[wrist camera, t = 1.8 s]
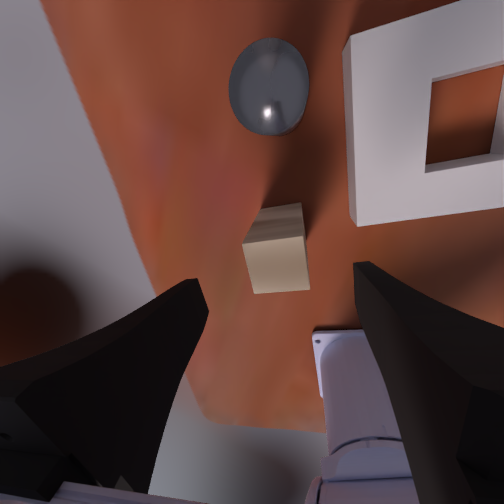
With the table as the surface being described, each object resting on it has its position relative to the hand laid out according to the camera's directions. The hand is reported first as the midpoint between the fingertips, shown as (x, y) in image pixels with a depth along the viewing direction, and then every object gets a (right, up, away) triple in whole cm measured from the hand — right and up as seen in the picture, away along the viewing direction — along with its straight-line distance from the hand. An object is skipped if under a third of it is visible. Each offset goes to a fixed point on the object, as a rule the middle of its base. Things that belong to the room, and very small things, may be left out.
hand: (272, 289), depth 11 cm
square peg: (+2, +4, +8) cm, 9 cm away
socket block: (+11, +10, +3) cm, 15 cm away
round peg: (+1, +11, +5) cm, 12 cm away
